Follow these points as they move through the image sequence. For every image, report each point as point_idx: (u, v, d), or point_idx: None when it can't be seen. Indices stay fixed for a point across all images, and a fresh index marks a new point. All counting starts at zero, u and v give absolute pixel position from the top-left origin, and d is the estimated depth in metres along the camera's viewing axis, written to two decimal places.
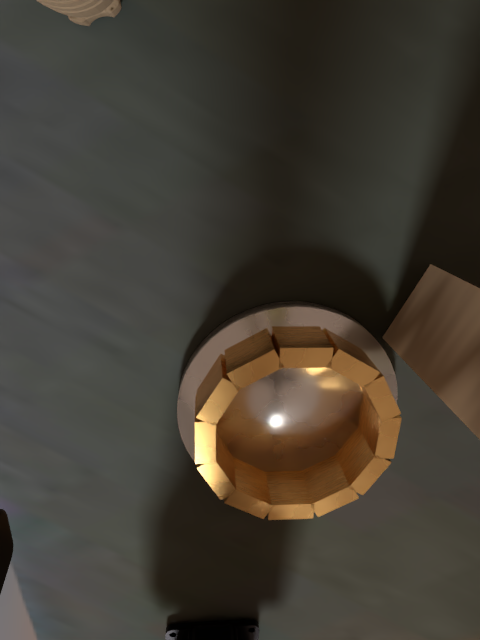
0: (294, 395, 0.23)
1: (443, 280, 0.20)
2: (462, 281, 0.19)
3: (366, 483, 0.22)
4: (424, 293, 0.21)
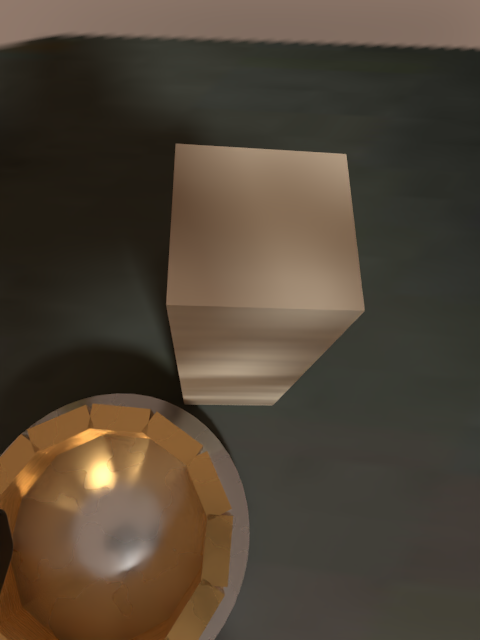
0: (107, 506, 0.19)
1: None
2: None
3: (220, 564, 0.16)
4: None
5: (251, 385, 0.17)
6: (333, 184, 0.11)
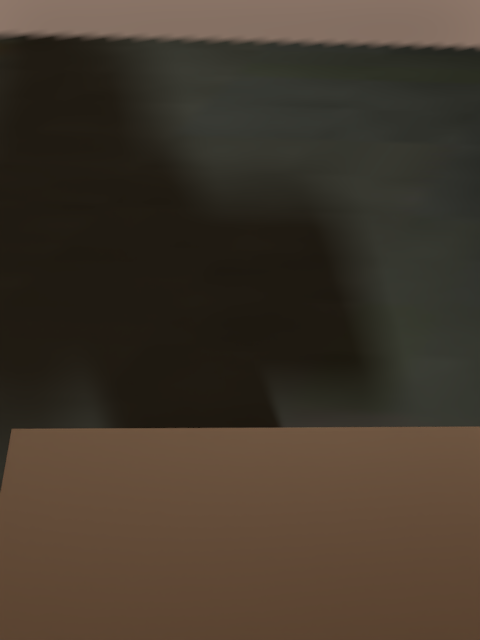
0: None
1: None
2: None
3: None
4: None
5: None
6: None
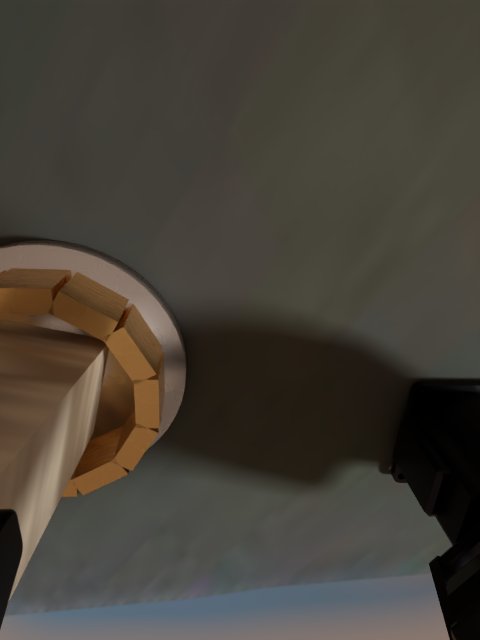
0: None
1: None
2: None
3: (97, 320, 0.16)
4: None
5: (79, 413, 0.15)
6: None
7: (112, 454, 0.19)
